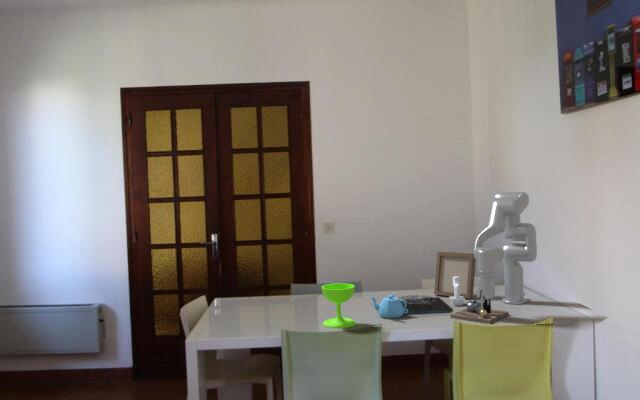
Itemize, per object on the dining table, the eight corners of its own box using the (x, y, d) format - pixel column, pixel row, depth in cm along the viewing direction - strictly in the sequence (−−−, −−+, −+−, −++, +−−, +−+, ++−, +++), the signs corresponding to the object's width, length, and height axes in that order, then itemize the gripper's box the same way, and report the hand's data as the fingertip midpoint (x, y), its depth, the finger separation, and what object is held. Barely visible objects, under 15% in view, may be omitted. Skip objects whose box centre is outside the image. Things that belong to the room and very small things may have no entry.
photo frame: (469, 300, 309) (468, 254, 309) (434, 295, 324) (432, 252, 323) (481, 295, 321) (479, 251, 320) (446, 291, 335) (445, 249, 334)
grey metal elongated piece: (465, 309, 281) (465, 299, 281) (479, 308, 281) (478, 298, 281) (477, 318, 262) (477, 307, 262) (492, 318, 262) (491, 307, 262)
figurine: (452, 306, 295) (451, 278, 294) (448, 302, 304) (447, 275, 304) (466, 306, 295) (465, 278, 294) (462, 302, 304) (461, 274, 304)
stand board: (471, 309, 288) (470, 306, 288) (508, 314, 274) (508, 311, 274) (450, 317, 272) (450, 314, 272) (489, 323, 259) (489, 320, 259)
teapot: (412, 316, 278) (411, 295, 278) (388, 321, 270) (387, 300, 270) (393, 311, 290) (392, 291, 290) (369, 315, 282) (369, 295, 282)
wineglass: (363, 323, 267) (361, 286, 266) (336, 330, 258) (334, 291, 257) (342, 317, 280) (341, 282, 279) (316, 323, 271) (314, 286, 270)
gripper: (485, 271, 278) (486, 308, 278) (471, 276, 267) (472, 314, 267) (500, 273, 273) (501, 310, 273) (486, 278, 262) (487, 317, 262)
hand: (487, 312), depth 270 cm, fingers closed
